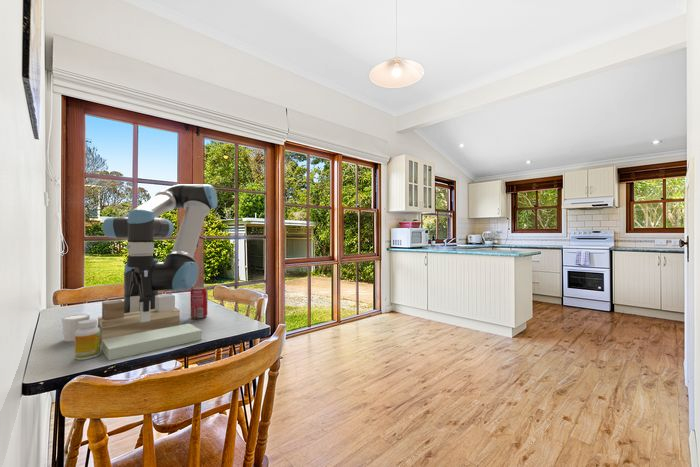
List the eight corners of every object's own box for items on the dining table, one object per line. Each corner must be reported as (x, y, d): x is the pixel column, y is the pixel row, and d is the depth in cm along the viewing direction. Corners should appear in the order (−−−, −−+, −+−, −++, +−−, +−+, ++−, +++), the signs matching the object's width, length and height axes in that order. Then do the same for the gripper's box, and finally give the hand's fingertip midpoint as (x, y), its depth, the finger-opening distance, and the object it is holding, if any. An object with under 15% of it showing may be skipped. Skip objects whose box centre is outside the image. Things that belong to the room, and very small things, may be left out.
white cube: (154, 309, 114) (155, 295, 114) (170, 307, 118) (170, 293, 118) (159, 312, 111) (159, 297, 111) (174, 309, 115) (174, 295, 115)
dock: (101, 350, 93) (101, 339, 93) (189, 332, 110) (189, 323, 110) (108, 360, 86) (108, 349, 86) (201, 339, 103) (201, 330, 103)
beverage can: (201, 314, 134) (201, 286, 134) (210, 316, 131) (210, 287, 131) (187, 318, 129) (187, 288, 129) (196, 320, 126) (196, 289, 126)
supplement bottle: (101, 356, 88) (101, 321, 88) (75, 362, 84) (75, 325, 84) (98, 351, 92) (98, 317, 92) (73, 356, 88) (73, 321, 88)
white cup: (93, 337, 105) (93, 315, 105) (66, 343, 99) (66, 320, 99) (84, 333, 108) (84, 313, 108) (57, 339, 102) (58, 317, 102)
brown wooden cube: (102, 317, 104) (102, 301, 104) (120, 314, 107) (120, 299, 107) (104, 320, 100) (105, 304, 100) (124, 317, 104) (124, 301, 104)
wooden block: (97, 338, 104) (97, 317, 104) (172, 325, 120) (172, 306, 120) (102, 344, 98) (102, 321, 99) (179, 329, 114) (179, 309, 114)
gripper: (119, 254, 115) (118, 313, 115) (136, 256, 98) (135, 327, 97) (143, 253, 121) (142, 310, 120) (164, 256, 103) (163, 322, 103)
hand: (139, 318), depth 109 cm, fingers open, 13 cm apart
